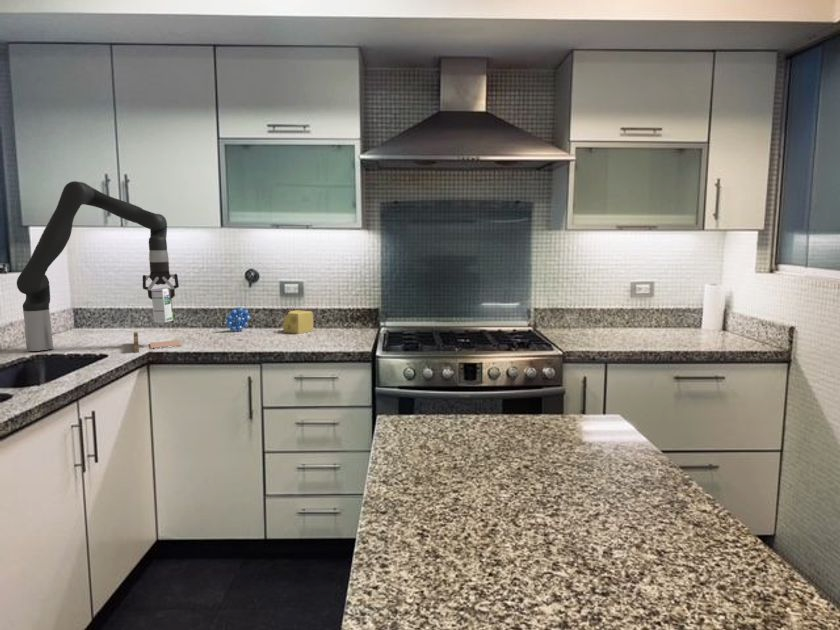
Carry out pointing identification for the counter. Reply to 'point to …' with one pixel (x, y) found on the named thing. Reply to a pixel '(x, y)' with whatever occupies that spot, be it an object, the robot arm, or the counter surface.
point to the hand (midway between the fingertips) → (161, 298)
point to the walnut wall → (136, 342)
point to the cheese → (298, 322)
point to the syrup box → (162, 305)
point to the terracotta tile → (165, 344)
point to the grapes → (238, 319)
